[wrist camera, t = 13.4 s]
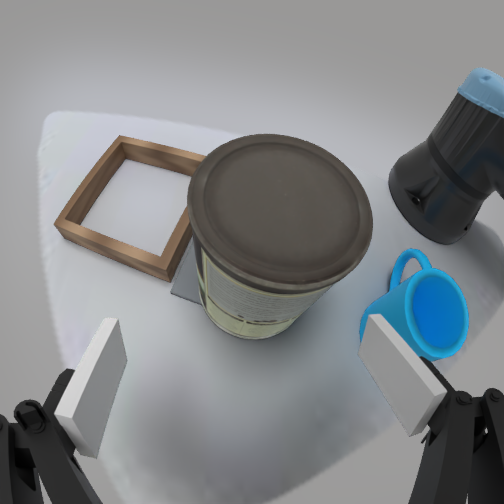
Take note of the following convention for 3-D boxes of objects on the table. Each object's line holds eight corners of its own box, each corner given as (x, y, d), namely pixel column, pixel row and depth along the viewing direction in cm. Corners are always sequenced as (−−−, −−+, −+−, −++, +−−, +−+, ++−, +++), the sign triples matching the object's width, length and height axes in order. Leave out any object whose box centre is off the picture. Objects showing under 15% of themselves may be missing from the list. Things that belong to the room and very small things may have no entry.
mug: (420, 369, 26) (471, 356, 19) (358, 370, 26) (405, 359, 18) (414, 271, 32) (455, 239, 24) (357, 261, 31) (394, 223, 24)
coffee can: (178, 268, 28) (156, 166, 15) (266, 224, 31) (300, 118, 19) (235, 362, 24) (258, 332, 12) (324, 304, 28) (404, 231, 15)
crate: (220, 178, 34) (222, 160, 31) (170, 282, 27) (166, 270, 25) (123, 151, 34) (119, 135, 32) (64, 238, 28) (53, 224, 25)
